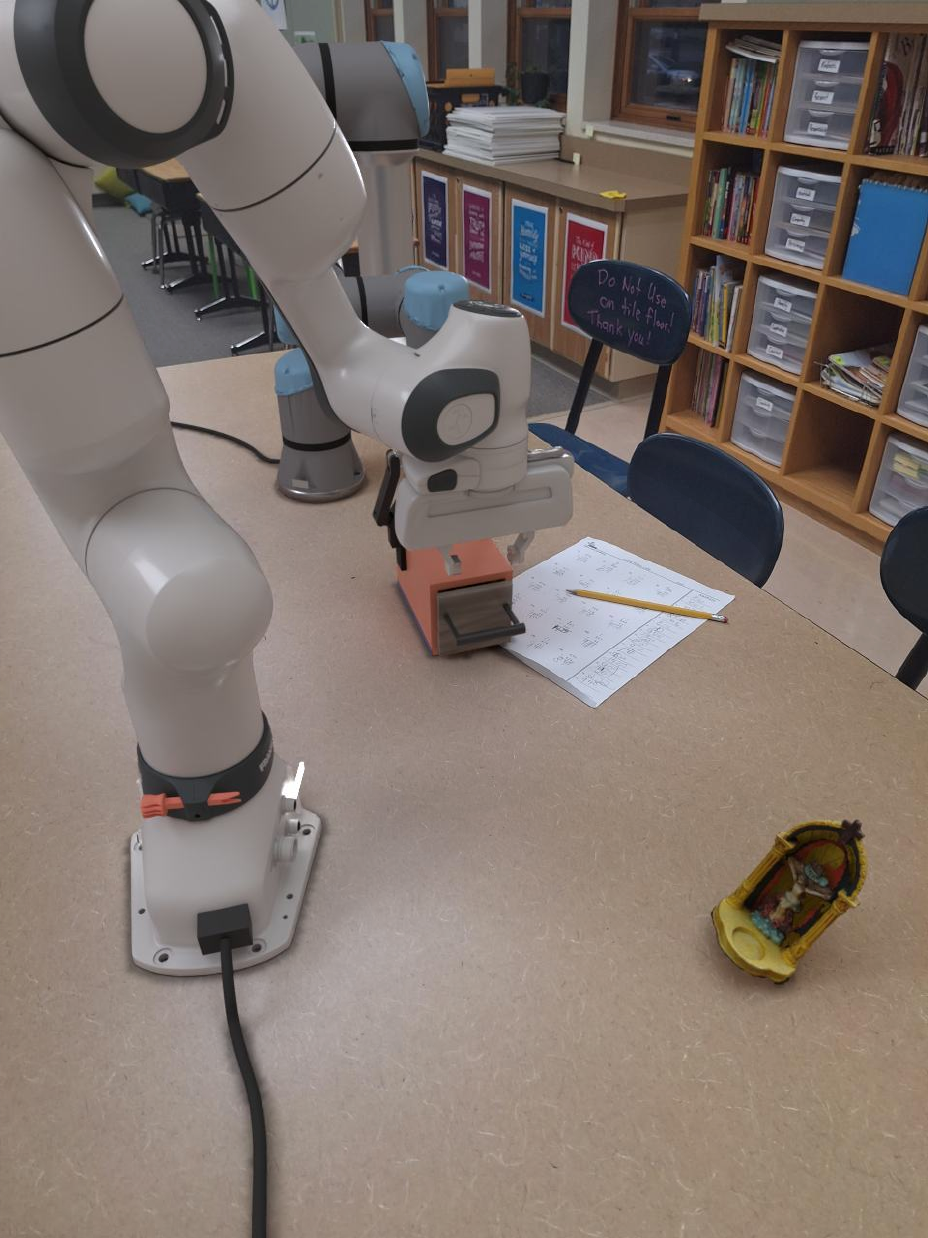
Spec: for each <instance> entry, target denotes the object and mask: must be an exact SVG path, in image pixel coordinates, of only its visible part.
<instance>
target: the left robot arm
mask: <svg viewBox="0 0 928 1238" xmlns="http://www.w3.org/2000/svg"><path fill="white" fill-rule="evenodd" d="M292 47H293V46H291V44H290V42H288V41H287V39H286V38H285V36H284V35H283V33H282V32H281V31H280V29H279V27H277V25H276V24H275V23H274V21H273V20H272V19H271V18H270V16H269V15H268V14H267V12H266V11H265V9H263V7H262V6H261V5H260V3H259V2H258V1H257V0H0V434H1V435H2V437H3V440H4V441H5V442H6V443H7V446H8V447H9V449H10V451H11V453H12V455H13V456H14V457H15V460H16V461H17V463H18V464H19V466H20V468H21V470H22V472H23V473H24V475H25V477H26V480H27V481H28V482H29V484H30V487H31V488H32V490H33V492H34V493H35V495H36V496H37V499H38V500H39V501H40V503H41V505H42V507H43V509H44V510H45V513H46V514H47V515H48V517H49V520H50V521H51V523H52V524H53V526H54V528H55V529H56V531H57V533H58V534H59V536H60V538H61V540H62V542H63V543H64V545H65V547H66V549H67V550H68V552H69V554H70V555H71V557H72V558H73V560H74V561H75V563H76V564H77V565H78V567H79V570H81V572H82V573H83V574H84V576H85V578H86V579H87V581H88V582H89V583H90V585H91V587H92V588H93V590H94V591H95V593H96V594H97V596H98V598H99V600H100V602H101V603H102V605H103V607H104V609H105V611H106V613H107V615H108V617H109V619H110V621H111V623H112V626H113V628H114V631H115V634H116V638H117V640H118V644H119V648H120V653H121V659H122V660H121V661H122V668H123V671H122V673H121V676H120V687H121V691H122V694H123V697H124V701H125V703H126V707H127V711H128V714H129V717H130V721H131V723H132V726H133V730H134V733H135V737H136V741H137V743H136V744H137V745H136V756H137V758H136V759H137V762H136V763H137V772H138V778H137V780H136V782H135V783H136V785H137V788H138V791H139V807H140V810H139V811H140V828H139V829H137V830H136V831H135V832H134V833H133V834H132V836H131V838H130V916H131V917H130V924H131V925H130V926H131V927H130V928H131V931H130V933H131V934H130V935H131V955H132V960H133V963H134V965H136V966H137V967H139V968H140V969H143V970H146V971H148V972H150V973H153V974H160V975H164V976H174V977H175V976H176V977H194V976H206V975H216V974H221V979H222V981H221V982H222V991H223V999H224V1009H225V1016H226V1022H227V1026H228V1027H227V1028H228V1031H229V1036H230V1040H231V1044H232V1048H233V1051H234V1055H235V1059H236V1061H237V1065H238V1068H239V1070H240V1074H241V1077H242V1081H243V1083H244V1084H243V1085H244V1089H245V1092H246V1096H247V1101H248V1106H249V1107H248V1108H249V1113H250V1121H251V1133H252V1153H253V1154H252V1156H253V1159H252V1160H253V1161H252V1162H253V1163H252V1164H253V1167H252V1207H251V1209H252V1210H251V1238H267V1195H268V1194H267V1191H268V1190H267V1189H268V1188H267V1186H268V1185H267V1184H268V1152H267V1151H268V1149H267V1131H266V1122H265V1114H264V1113H265V1112H264V1107H263V1101H262V1095H261V1092H260V1088H259V1084H258V1080H257V1077H256V1074H255V1070H254V1068H253V1065H252V1062H251V1059H250V1056H249V1052H248V1050H247V1046H246V1041H245V1039H244V1035H243V1030H242V1026H241V1021H240V1017H239V1015H240V1014H239V1010H238V1003H237V996H236V995H237V994H236V986H235V977H234V975H235V974H234V971H238V970H243V969H246V968H250V967H253V966H256V965H258V964H261V963H264V962H266V961H268V960H271V959H272V958H274V957H276V956H278V955H280V954H281V953H282V952H284V951H285V950H287V949H288V948H289V947H290V945H291V944H292V942H293V941H292V940H293V937H294V934H295V930H296V927H297V924H298V920H299V916H300V912H301V908H302V905H303V902H304V897H305V893H306V889H307V886H308V882H309V878H310V874H311V871H312V867H313V864H314V860H315V857H316V853H317V850H318V846H319V841H320V838H321V834H322V828H323V825H322V822H321V818H320V817H319V816H318V815H317V814H316V813H315V812H312V811H310V810H309V809H306V808H303V805H302V802H301V796H300V792H299V789H300V786H301V782H302V778H303V774H304V771H305V765H304V761H301V762H299V766H298V769H297V773H296V776H295V772H294V771H295V770H294V768H293V766H291V765H290V764H289V763H288V762H287V761H286V760H284V759H283V758H281V757H280V756H279V755H278V753H276V752H275V749H274V739H273V738H274V737H273V732H272V728H271V726H270V723H269V720H268V718H267V715H266V714H265V712H264V710H263V709H262V705H261V700H260V694H259V688H258V683H257V677H256V671H255V666H254V649H256V647H258V645H259V643H260V642H261V641H262V639H263V638H264V636H265V634H266V633H267V631H268V629H269V626H270V623H271V620H272V617H273V613H274V612H273V611H274V597H273V592H272V589H271V586H270V584H269V581H268V579H267V577H266V574H265V573H264V570H263V568H262V566H261V565H260V562H259V561H258V558H257V557H256V555H255V553H254V551H253V550H252V548H251V546H250V545H249V544H248V542H247V541H246V540H245V539H244V538H243V536H241V535H240V534H239V533H238V532H237V531H236V530H235V529H234V528H233V527H232V526H231V524H229V523H228V522H227V520H225V519H224V518H223V517H222V516H221V515H220V514H219V513H218V512H217V511H216V510H215V509H214V508H213V506H212V505H210V504H209V503H210V502H208V501H207V500H206V499H205V497H204V495H202V493H201V492H200V490H199V489H198V488H197V486H196V485H195V484H194V482H193V480H192V479H191V478H190V476H189V473H188V472H187V470H186V467H185V466H184V463H183V460H182V458H181V454H180V452H179V448H178V446H177V442H176V437H175V434H174V430H173V426H171V422H170V421H171V417H170V411H171V402H170V397H169V395H168V393H167V390H166V388H165V385H164V382H163V381H162V378H161V376H160V374H159V371H158V369H157V367H156V365H155V362H154V360H153V357H152V355H151V353H150V351H149V348H148V346H147V343H146V341H145V338H144V337H143V335H142V332H141V330H140V328H139V325H138V323H137V321H136V319H135V316H134V314H133V312H132V309H131V306H130V305H129V302H128V300H127V298H126V296H125V292H124V291H123V289H122V286H121V284H120V282H119V280H118V278H117V275H116V274H115V271H114V270H113V267H112V265H111V263H110V261H109V259H108V257H107V255H106V253H105V251H104V249H103V247H102V245H101V243H100V241H99V239H98V238H99V233H98V229H97V225H96V220H95V215H94V208H93V181H94V176H95V170H94V169H93V168H105V167H112V168H116V169H123V170H138V169H146V168H150V167H154V166H158V165H160V164H163V163H166V162H168V161H170V160H172V159H175V160H176V161H177V162H178V164H179V165H181V166H182V167H183V168H184V170H185V172H186V173H187V175H188V176H189V178H190V180H191V181H192V183H193V184H194V186H195V188H196V189H197V190H198V192H199V194H200V195H201V196H202V198H203V199H204V200H205V202H206V203H207V204H208V206H209V208H210V209H211V211H212V212H213V213H214V215H215V217H216V218H217V219H218V221H219V222H220V223H221V225H222V226H223V227H224V229H225V230H226V232H227V233H228V234H229V235H230V237H231V238H232V240H233V241H234V242H235V244H236V245H237V247H238V248H239V249H240V251H241V252H242V253H243V255H244V256H245V257H246V259H247V261H248V262H249V264H250V266H251V268H252V270H253V272H254V275H255V276H256V277H257V279H258V282H259V283H260V285H261V286H262V288H263V290H264V291H265V294H267V297H268V298H269V300H270V301H271V303H272V305H273V304H274V306H275V308H276V309H277V311H278V312H279V314H280V316H281V317H282V319H283V321H284V322H285V324H286V325H287V327H288V329H289V330H290V332H291V334H292V335H293V337H294V339H295V340H296V342H297V343H298V345H297V346H298V348H299V347H300V348H301V350H302V352H303V354H304V356H305V358H306V361H307V363H308V366H309V369H310V373H311V377H312V382H313V386H314V390H315V394H316V397H317V400H318V403H319V405H320V407H321V409H322V411H323V412H324V414H325V415H326V416H327V417H328V418H329V419H330V420H331V421H332V422H334V423H335V424H337V425H339V426H341V427H344V428H347V429H349V430H351V432H352V431H353V432H355V433H358V434H362V435H364V436H366V437H367V438H371V439H372V440H374V441H376V442H378V443H380V444H382V445H385V446H387V447H388V448H390V449H393V450H394V451H395V450H396V451H397V452H398V451H400V452H402V453H404V454H405V455H404V456H403V457H402V466H403V469H402V470H403V473H404V475H405V477H404V478H402V480H401V481H400V483H398V486H397V489H396V496H395V500H396V504H395V531H396V535H397V538H398V540H399V542H400V543H401V545H402V546H403V547H404V548H406V549H407V550H408V551H416V550H422V549H428V548H434V547H437V549H438V550H439V552H440V554H441V555H442V556H443V558H444V559H445V569H446V572H447V573H448V575H449V576H451V575H457V574H461V573H462V570H461V567H462V562H461V560H460V559H459V557H458V555H450V554H449V553H448V552H451V551H452V544H458V543H464V542H470V541H476V540H482V539H488V538H491V539H493V538H500V537H505V536H511V535H517V534H518V536H517V537H516V539H515V540H514V543H513V544H511V545H507V546H506V548H507V549H506V551H507V554H506V558H507V562H508V563H510V564H509V565H510V566H512V565H513V566H514V565H518V564H519V565H520V564H524V563H525V552H526V551H527V549H528V548H529V546H531V543H533V540H534V539H535V532H536V531H542V530H547V529H552V528H553V529H554V528H559V527H565V526H566V525H568V523H570V521H571V519H572V518H573V514H574V496H573V486H572V478H573V476H574V473H575V461H576V460H575V457H574V455H573V453H572V452H571V451H569V450H567V449H564V448H563V446H553V447H550V448H544V449H542V448H541V449H530V450H529V423H528V419H527V414H526V413H527V411H526V410H527V404H528V402H529V398H530V397H531V396H530V395H531V385H532V384H531V383H532V382H531V381H532V349H531V348H532V346H531V336H530V331H529V330H530V329H529V325H528V323H527V319H526V317H525V316H524V315H523V314H522V313H521V312H520V310H518V309H516V308H515V307H511V306H509V305H506V304H503V303H499V302H495V301H488V300H482V299H469V300H461V301H459V302H456V303H453V304H452V305H451V306H450V309H449V313H448V318H447V320H446V322H445V323H444V324H443V326H442V327H441V329H440V330H439V331H438V332H437V333H436V335H435V336H434V337H433V338H432V339H431V340H430V341H428V342H427V343H426V344H425V345H423V346H422V347H420V348H418V349H417V350H416V349H414V348H411V347H408V346H406V345H403V344H400V343H398V342H395V341H392V340H390V339H388V338H386V337H384V336H382V335H381V334H379V333H377V332H375V331H373V330H372V329H370V328H369V327H367V326H366V325H365V324H363V323H362V322H361V321H360V319H359V318H358V317H357V315H356V313H355V311H354V309H353V307H352V305H351V303H350V301H349V299H348V297H347V295H346V293H345V291H344V290H343V288H342V286H341V284H340V282H339V280H338V278H337V276H336V274H335V272H334V270H333V268H332V266H333V265H334V264H335V263H336V262H337V261H338V260H339V259H340V258H342V257H343V256H345V254H347V252H348V251H349V250H350V248H351V247H352V245H353V244H354V243H355V241H356V239H357V235H358V234H359V231H360V229H361V226H362V223H363V219H364V215H365V210H366V201H367V196H366V192H365V187H364V184H363V180H362V177H361V174H360V170H359V168H358V165H357V162H356V160H355V157H354V155H353V153H352V151H351V149H350V147H349V145H348V143H347V141H346V139H345V137H344V135H343V133H342V131H341V129H340V128H339V126H338V124H337V122H336V120H335V118H334V117H333V114H332V113H331V111H330V109H329V107H328V105H327V104H326V102H325V100H324V98H323V96H322V95H321V93H320V91H319V89H318V88H317V86H316V85H315V83H314V81H313V80H312V78H311V76H310V75H309V73H308V71H307V70H306V68H305V67H304V65H303V64H302V62H301V61H300V59H299V58H298V56H297V55H296V53H295V52H294V50H293V49H292ZM274 306H273V307H274ZM257 949H258V951H256V952H255V950H257ZM259 949H260V950H259ZM165 959H167V960H165ZM163 960H165V961H163ZM162 961H163V962H162Z"/></svg>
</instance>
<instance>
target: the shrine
mask: <svg viewBox="0 0 928 1238" xmlns="http://www.w3.org/2000/svg"><path fill="white" fill-rule="evenodd" d="M862 827H863V823H862V822H861V821H860V820H859V819H857V818H856V819H854V821H853V822H851V821H850V820H848V819H843V820H842V821H841V820H837V819H836V820H835V819H834V820H833V819H827V818H826V819H821V818H820V819H819V818H818V819H810V820H807V821H804V822H801V823H798V824H796V825H795V826H793V827H792V828H790V829H789V830H787V831H783V830H782V831H779V832H778V833H777V834H776V837H775V838H774V842H775V843H774V844H773V845H771V847H772V848H771V849H770V851H769V852H767V853H766V855H765V856H764V858H762V859H761V861H760V862H759V863H758V864H757V866H756V867H755V868H754V869H753V870H752V871H751V872H750V874H749V875H748V876H747V877H746V878H744V879H743V881H742V882H741V884H740V885H739V886H738V887H736V889H735V891H733V892H732V893H730V895H728V896H727V897H725V898H724V899H722V900H721V901H719V903H718V905H716V906H714V908H713V909H712V911H710V918H711V922H712V924H713V927H714V930H715V934H716V935H715V936H716V938H717V941H716V942H717V944H718V946H719V948H720V949H721V951H722V952H723V953H724V955H725V957H727V958H728V959H729V960H730V962H731V963H733V965H735V966H736V967H737V968H738V969H739V970H741V971H744V972H746V973H747V974H749V975H750V976H751V977H754V978H760V979H767V980H770V981H772V983H773V985H775V986H783V985H784V984H785V983H788V982H789V981H790V980H791V976H792V975H794V973H796V972H797V968H798V964H799V962H800V960H801V959H803V958H804V956H805V955H806V953H807V952H809V951H810V950H811V949H812V947H813V945H814V943H816V941H817V940H818V939H819V938H820V937H821V936H822V935H823V934H824V932H825V931H827V929H828V928H830V926H832V925H834V922H836V921H837V919H839V918H840V917H841V916H842V915H844V914H845V913H847V912H848V910H849V909H856V908H857V907H858V906H860V905H861V900H860V898H859V897H858V896H859V894H860V893H861V890H862V889H863V887H864V885H865V882H866V880H867V875H868V855H867V851H866V847H865V843H864V840H863V839H864V838H865V837H866V834H865V833H863V831H862Z"/></svg>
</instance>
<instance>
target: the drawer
mask: <svg viewBox="0 0 928 1238" xmlns="http://www.w3.org/2000/svg"><path fill="white" fill-rule="evenodd" d="M513 589H514V584H513V582H512V583H511V581H510V580H507V581H502V582H498V580H493V581H488V582H482V583H477V584H471V585H466V586H460V587H455V588H449V589H444V590H438V593H436V620H437V651H438V653H439V654H438V655H439V657H443V656H449V655H453V654H458V653H462V652H468V651H472V650H477V649H482V648H483V649H484V648H488V647H492V646H498V645H503V644H507V643H511V642H512V637H513V636H520V635H524V634H526V633H527V629H526V628H527V627H526V624H525V623H524V622H520V620H519V618H518V617H517V616H516V614H515V612H514V611H513V591H514V590H513Z"/></svg>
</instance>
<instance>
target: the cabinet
mask: <svg viewBox="0 0 928 1238" xmlns="http://www.w3.org/2000/svg"><path fill="white" fill-rule="evenodd" d="M448 553H449V554H450V555H458V557H459V559H460V560H461V562H462V567H461V570H462V573H461V574H457V575H451V576H449V575H448V573H447V572H446V569H445V559H444V558H443V556H442V555H441V554H440V552H439V550H438V549H437V547H434V548H428V549H422V550H416V551H408V550H407V549H406V562H407V570H405V571H401V569H400V567H399V565H398V563H397V562H396V574H397V575H396V576H397V587H398V588H399V591H400V593H401V595H402V597H403V599H404V601H405V603H406V606H407V607H408V610H409V613H410V614H411V616H412V618H413V621H414V622H415V625H416V626H417V628H418V630H419V633H420V634H421V637H422V639H423V641H424V644H425V646H426V647H427V649H428V651H429V653H430V655H431V657H434V656H438V655H439V653H438V651H437V620H436V593H438V590H444V589H449V588H455V587H460V586H466V585H471V584H477V583H482V582H488V581H493V580H498V582H502V581H507V580H510V581H511V583H512V584H513V580H514V579H513V577H514V570H513V568H512V567H511V564H509V561H508V560H506V558H505V557H504V555H503V554H502V552H501V551H500V549H499V548H498V547H497V545H496V543H495V542H494V541H493V538H488V539H482V540H476V541H470V542H464V543H458V544H452V551H451V552H448Z"/></svg>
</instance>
